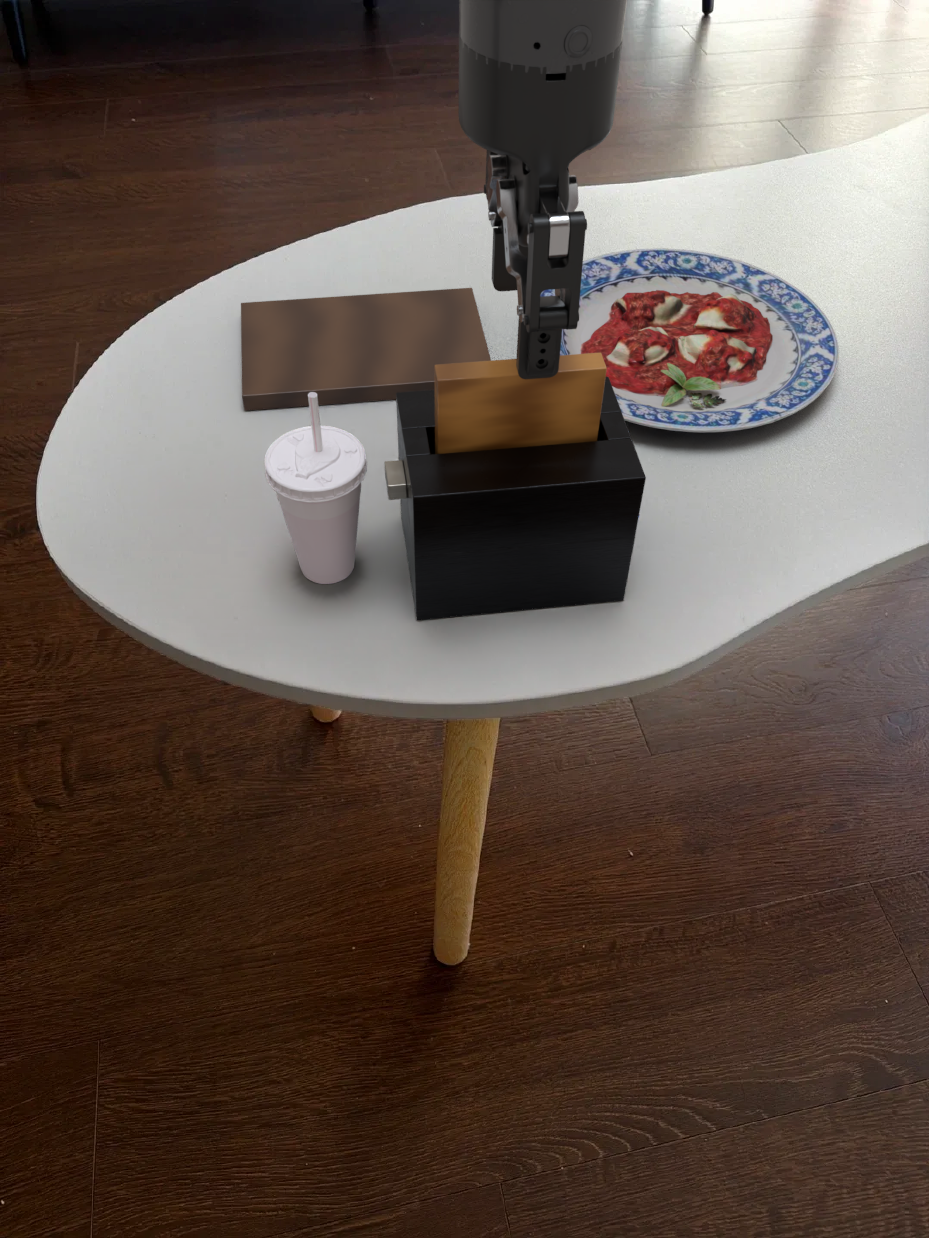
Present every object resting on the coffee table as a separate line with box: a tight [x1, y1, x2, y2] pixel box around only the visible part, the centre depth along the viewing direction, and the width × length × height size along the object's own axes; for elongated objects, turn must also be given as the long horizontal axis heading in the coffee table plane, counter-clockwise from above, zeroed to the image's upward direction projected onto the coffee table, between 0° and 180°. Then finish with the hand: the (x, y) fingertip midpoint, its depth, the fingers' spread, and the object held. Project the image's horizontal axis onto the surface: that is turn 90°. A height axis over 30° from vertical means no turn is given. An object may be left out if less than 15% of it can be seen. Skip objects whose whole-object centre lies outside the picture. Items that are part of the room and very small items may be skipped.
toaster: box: [383, 377, 647, 622], centre depth 72 cm, size 15×10×11 cm, turn 98°
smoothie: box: [264, 392, 368, 585], centre depth 70 cm, size 6×6×14 cm
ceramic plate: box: [540, 247, 840, 433], centre depth 91 cm, size 26×26×3 cm
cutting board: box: [240, 287, 492, 412], centre depth 91 cm, size 20×13×2 cm, turn 98°
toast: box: [434, 353, 607, 454], centre depth 68 cm, size 10×2×10 cm, turn 98°
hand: (523, 329), depth 62 cm, fingers open, 8 cm apart
